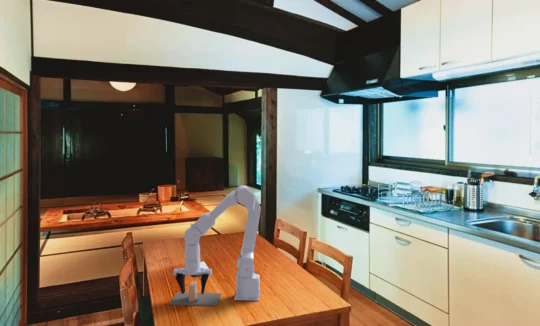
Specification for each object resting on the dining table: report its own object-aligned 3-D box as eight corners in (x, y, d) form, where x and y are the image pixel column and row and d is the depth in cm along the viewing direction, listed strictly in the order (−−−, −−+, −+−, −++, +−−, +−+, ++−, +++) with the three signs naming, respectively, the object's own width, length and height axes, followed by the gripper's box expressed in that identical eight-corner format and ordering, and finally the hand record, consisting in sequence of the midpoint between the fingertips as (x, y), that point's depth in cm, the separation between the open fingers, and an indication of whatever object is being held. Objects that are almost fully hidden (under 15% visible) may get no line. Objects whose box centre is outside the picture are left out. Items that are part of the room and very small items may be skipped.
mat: (221, 294, 146) (221, 293, 146) (216, 305, 136) (216, 304, 136) (176, 293, 146) (176, 292, 146) (169, 305, 136) (169, 303, 136)
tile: (197, 296, 143) (196, 281, 143) (194, 301, 138) (193, 286, 138) (192, 295, 143) (191, 281, 143) (188, 301, 138) (188, 286, 138)
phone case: (212, 275, 167) (204, 264, 181) (212, 272, 167) (204, 260, 181) (193, 278, 163) (187, 266, 178) (193, 275, 163) (186, 263, 178)
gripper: (213, 255, 143) (213, 288, 144) (176, 255, 144) (177, 288, 145) (209, 261, 136) (210, 296, 137) (171, 261, 137) (172, 296, 138)
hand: (193, 292), depth 140 cm, fingers open, 7 cm apart
